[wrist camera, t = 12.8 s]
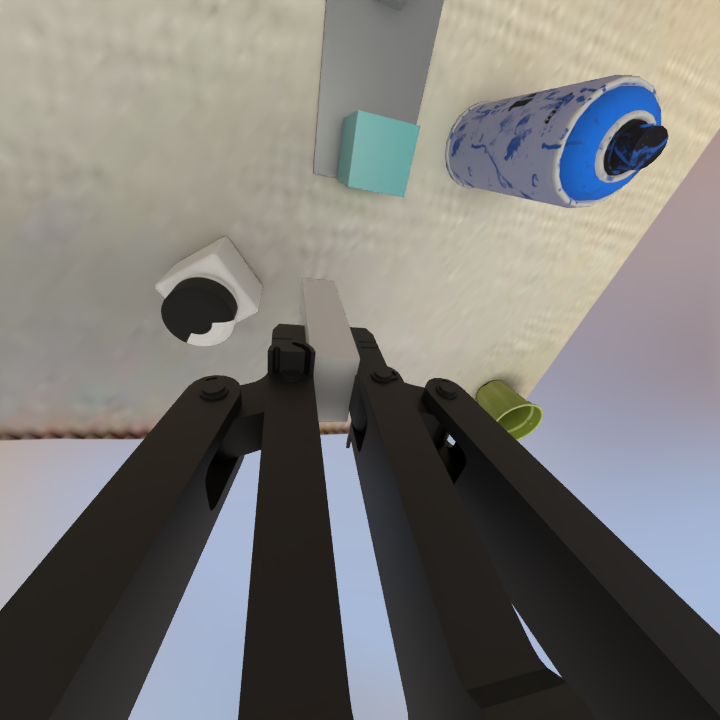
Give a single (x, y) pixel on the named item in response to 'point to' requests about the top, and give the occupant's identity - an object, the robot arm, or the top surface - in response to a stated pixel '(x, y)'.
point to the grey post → (392, 3)
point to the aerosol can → (559, 141)
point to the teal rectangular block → (376, 153)
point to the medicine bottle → (208, 294)
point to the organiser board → (371, 67)
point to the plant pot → (509, 409)
